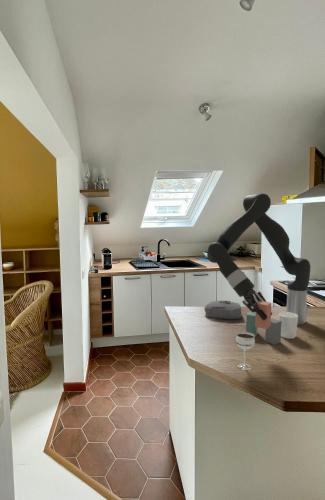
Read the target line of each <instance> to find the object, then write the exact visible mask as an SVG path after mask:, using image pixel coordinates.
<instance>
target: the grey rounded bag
mask: <svg viewBox="0 0 325 500" xmlns="http://www.w3.org/2000/svg"><path fill="white" fill-rule="evenodd" d="M204 312H205V315H206V316H207V317H209V318H214V319H221V320H239V319H241V316H242V307H241V304H240V303H237V302H234V301H231V300H215V301H210V302H209V303H207V304H206V305H205V306H204Z"/></svg>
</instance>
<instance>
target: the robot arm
mask: <svg viewBox="0 0 325 500" xmlns="http://www.w3.org/2000/svg"><path fill="white" fill-rule="evenodd" d="M242 204H243V205H242V206H243V209H244V211H245V213H243V214H242V215H241V216H239V217H238V218H237V219H235V220H234V221H232V222H231V223H230V224H229V225H227V227H226V228H225V229H224V230H223V231H222V233H221V234H220V235H219V237H218V239H217V241H215V242H212V243H210V244H209V246H208V248H207V252H206V253H207V254H206V258H207V260H208V261H209V262H211V263H214V264H217V265H218V267H219V268H218V270H219V271H220V273H221V274H222V275H223V277H224V278H225V279H226V280H227V283H228V284H229V285H230V287H231V288H232V289H233V291H234V292H235V293H236V294H237V296H239V297H240V298H242V297H243V300H242V301H241V302H242V304H243V305H244V306H245V307H246V308H247V309H248V310H250V312H253V313H257V314H258V315H259V316H260V317H261V319H262V320H265V319H267V318H268V317H267V315H266V314H265V313H264V312H263V310H262V309H261V308H260V306H259V305H258V304H259V301H265V302H268V301H267V300H266V298H265V297H264V296H263V294H262V292H261V291H258V292H257V291H255V290H254V288H255V285H254V283H253V282H252V281H251V280H250V278H249V277H248V276H247V275H246V273H244V271H242V270H241V268H240V267H239V266H238V265H237V264H236V263H235V261H233V259H232V256H231V255H230V253H229V250H230V249H231V248H232V247H233V245H234V244H235V243H236V242H237V240H238V239H239V238H240V237H241V236H242V235H243V234H244V233H245V232H246V231H247V230H248V229H249V228H250V227H251V226H252V225H253V224H256V226H257V227H258V229H259V230H260V231H261V233H262V234H263V235H264V238H265V239H266V241H267V242H268V243H269V245H270V246H271V247H272V249H273V251H274V252H275V253H276V255H277V258H279V260H280V262H281V264H282V266H283V268H284V270H285V272H287V273H288V274H289V275H290V276H295V278H294V280H293V281H289V282H288V283H287V289H286V290H287V292H286V293H287V294H286V311H285V312H290V313H294V314H297V315H298V321H297V325H304V324H305V323H306V322H308V321H307V319H308V303H307V300H308V299H307V296H308V286H309V284H310V276H311V263H310V261H309V260H308V259H307V258H301V257H297V256H295V255H293V253H292V252H291V251H290V243H291V242H290V237H289V235H288V233H287V232H286V230H285V229H284V226H282V225H281V224H280V223H278V221H276V220H274V219H273V218H271V217H270V216H269V215H268V214H267V212H268V211H269V210H270V208H271V206H272V205H271V204H272V202H271V198H270V196H269V195H268V194H266V193H262V192H261V193H254V194H249V195H246V196H245V197H244V198H243V201H242ZM272 315H273V313H272V311H271V316H272Z"/></svg>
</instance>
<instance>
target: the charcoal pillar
mask: <svg viewBox="0 0 325 500" xmlns="http://www.w3.org/2000/svg"><path fill="white" fill-rule="evenodd" d="M264 337H265V338H264V339H265V340H264V341H265V342H266V343H268V344H271V345H273V346H275V345H278V344H280V343H281V340H282V337H281V321H279V319H276V318H272V317H271V326H270V327H269V328H267V329H265V336H264Z"/></svg>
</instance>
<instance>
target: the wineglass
mask: <svg viewBox="0 0 325 500" xmlns="http://www.w3.org/2000/svg"><path fill="white" fill-rule="evenodd" d="M235 335H236V336H235V343H236V345H237V346H238V348H240V349H241V350H243V363H238V364H237V368H238V367H239V368H240V370H242V371H251V369H252V366H251V365H250V364H248V363H246V358H247V357H246V355H247V351H248V350H250V349H252V348H253V347H255V344H256V339H255V337H256V336H255V335H254V334H253V333H250V332H246V330H242V331H237V332H235ZM239 368H238V369H239Z"/></svg>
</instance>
